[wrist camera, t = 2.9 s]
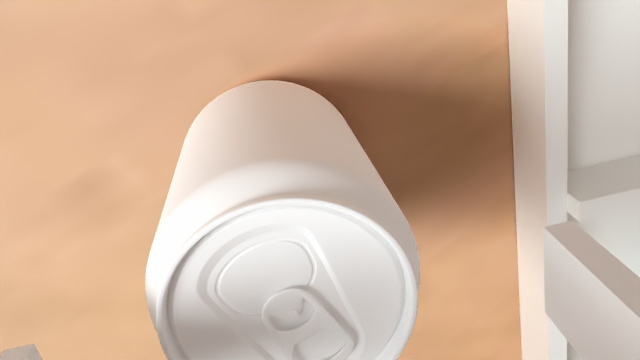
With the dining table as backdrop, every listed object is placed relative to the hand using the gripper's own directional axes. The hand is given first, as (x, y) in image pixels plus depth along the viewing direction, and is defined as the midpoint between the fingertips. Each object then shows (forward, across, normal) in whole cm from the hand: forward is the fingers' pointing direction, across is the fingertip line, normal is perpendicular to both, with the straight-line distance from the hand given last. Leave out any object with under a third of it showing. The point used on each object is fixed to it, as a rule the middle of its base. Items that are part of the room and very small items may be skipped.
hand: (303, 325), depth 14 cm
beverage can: (+13, 0, 0) cm, 13 cm away
